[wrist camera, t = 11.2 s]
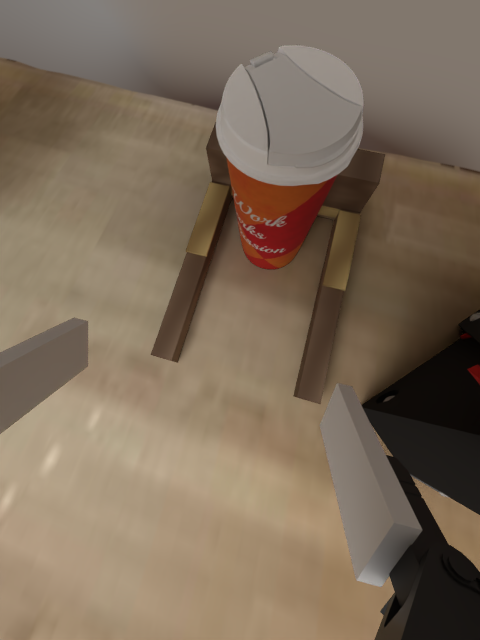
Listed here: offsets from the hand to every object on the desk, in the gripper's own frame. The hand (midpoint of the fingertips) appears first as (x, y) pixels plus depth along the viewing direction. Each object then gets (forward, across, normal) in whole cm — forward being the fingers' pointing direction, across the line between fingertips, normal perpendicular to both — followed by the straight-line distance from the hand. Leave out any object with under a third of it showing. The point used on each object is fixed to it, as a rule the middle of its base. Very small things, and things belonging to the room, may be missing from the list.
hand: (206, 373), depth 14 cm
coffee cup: (+18, +2, +6) cm, 19 cm away
